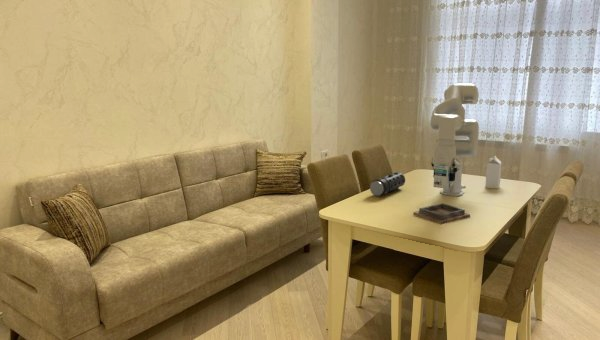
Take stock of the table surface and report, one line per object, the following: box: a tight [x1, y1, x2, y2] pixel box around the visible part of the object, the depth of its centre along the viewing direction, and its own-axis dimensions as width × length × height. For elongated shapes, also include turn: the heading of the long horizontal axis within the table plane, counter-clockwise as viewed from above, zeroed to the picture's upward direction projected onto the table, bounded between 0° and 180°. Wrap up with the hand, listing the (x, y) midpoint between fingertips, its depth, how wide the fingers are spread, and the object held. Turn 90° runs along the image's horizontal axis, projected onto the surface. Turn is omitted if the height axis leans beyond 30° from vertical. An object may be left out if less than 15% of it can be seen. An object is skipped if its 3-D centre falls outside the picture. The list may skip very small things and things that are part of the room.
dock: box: [413, 203, 471, 225], centre depth 210 cm, size 20×17×4 cm
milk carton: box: [484, 155, 503, 189], centre depth 263 cm, size 7×7×19 cm
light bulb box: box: [433, 164, 454, 189], centre depth 206 cm, size 11×7×11 cm, turn 146°
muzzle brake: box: [369, 171, 406, 197], centre depth 252 cm, size 10×28×10 cm, turn 142°
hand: (443, 179), depth 206 cm, fingers closed on light bulb box, 8 cm apart
